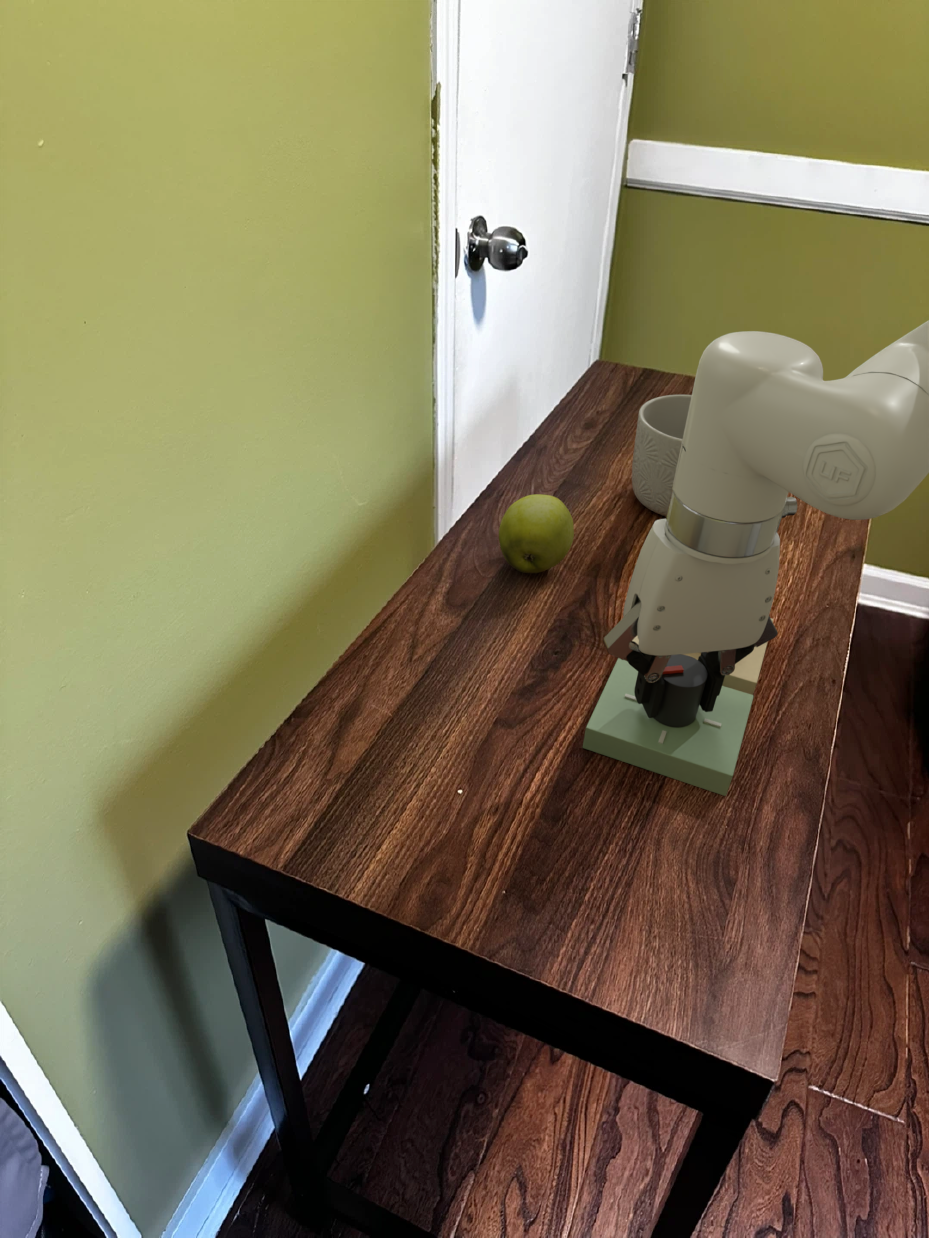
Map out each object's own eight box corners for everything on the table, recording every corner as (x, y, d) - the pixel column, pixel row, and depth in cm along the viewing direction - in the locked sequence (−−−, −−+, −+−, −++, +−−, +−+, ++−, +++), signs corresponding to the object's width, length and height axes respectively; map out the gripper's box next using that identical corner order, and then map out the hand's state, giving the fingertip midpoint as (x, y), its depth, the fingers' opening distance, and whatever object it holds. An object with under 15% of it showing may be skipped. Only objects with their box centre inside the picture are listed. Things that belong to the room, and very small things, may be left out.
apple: (575, 547, 95) (583, 484, 90) (562, 595, 88) (570, 530, 83) (506, 536, 96) (510, 473, 91) (488, 582, 89) (492, 517, 84)
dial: (686, 691, 74) (697, 649, 71) (703, 725, 71) (716, 682, 68) (641, 695, 73) (651, 653, 70) (657, 730, 70) (668, 686, 67)
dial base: (747, 715, 75) (754, 693, 74) (725, 796, 68) (733, 774, 67) (615, 674, 79) (619, 653, 77) (582, 748, 72) (586, 726, 70)
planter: (746, 525, 99) (770, 440, 93) (644, 533, 98) (661, 447, 91) (704, 472, 109) (723, 391, 102) (611, 478, 107) (624, 396, 100)
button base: (768, 636, 84) (778, 603, 81) (751, 700, 77) (762, 668, 74) (648, 602, 88) (655, 571, 85) (621, 661, 80) (628, 629, 78)
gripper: (807, 482, 64) (749, 663, 76) (591, 496, 62) (565, 681, 73) (859, 538, 58) (787, 725, 70) (624, 556, 56) (589, 747, 67)
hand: (674, 701), depth 71 cm, fingers closed on dial, 4 cm apart
